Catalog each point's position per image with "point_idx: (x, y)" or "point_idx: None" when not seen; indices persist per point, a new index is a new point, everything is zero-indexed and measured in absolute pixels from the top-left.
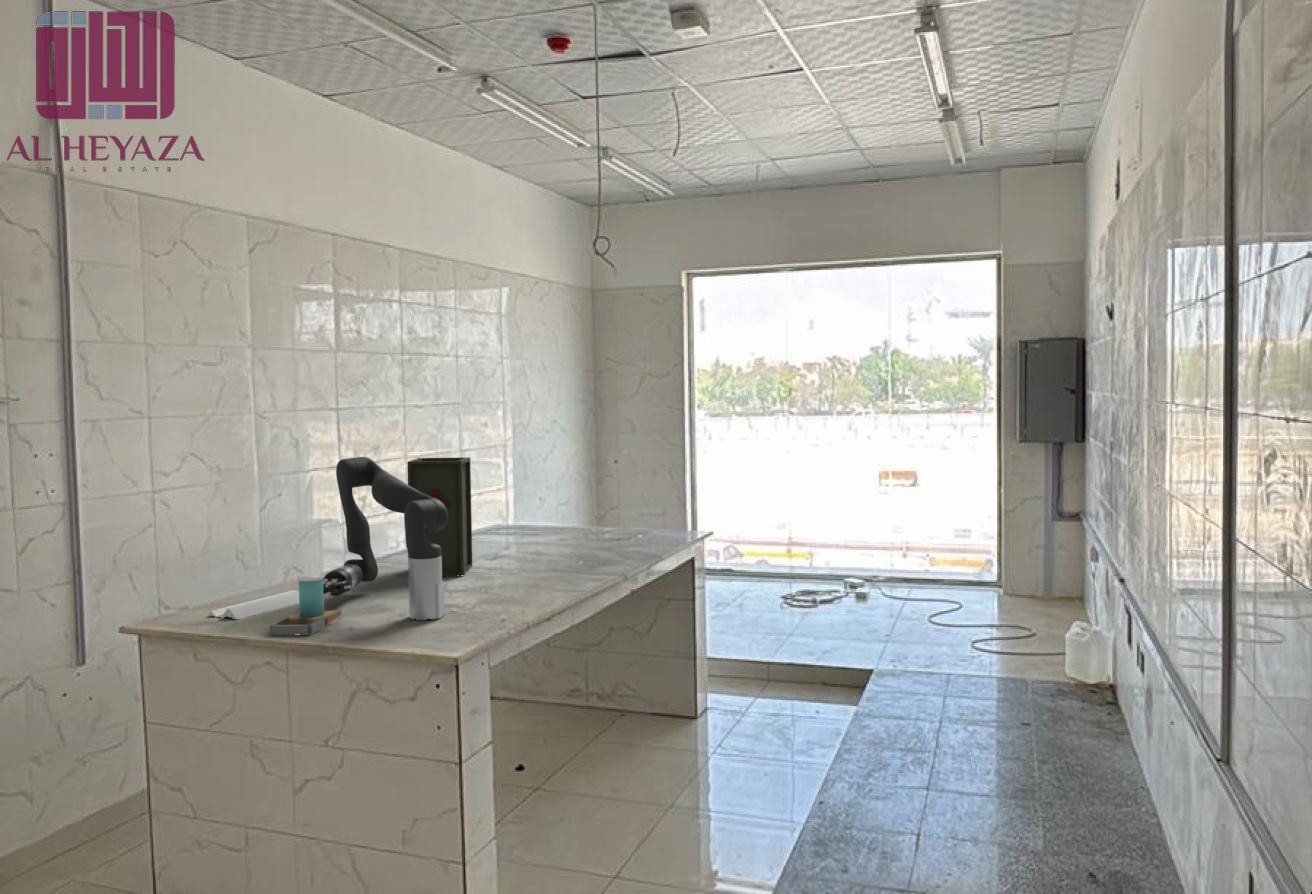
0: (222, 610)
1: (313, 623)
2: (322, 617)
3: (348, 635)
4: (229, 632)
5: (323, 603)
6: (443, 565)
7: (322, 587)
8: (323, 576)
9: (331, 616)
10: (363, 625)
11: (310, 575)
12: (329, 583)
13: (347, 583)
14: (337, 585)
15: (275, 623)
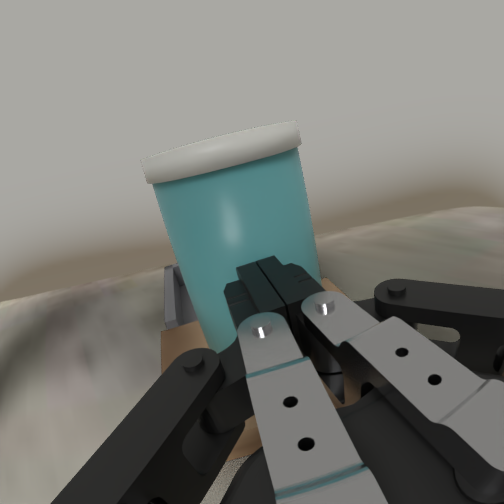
0: None
1: (167, 276)
2: (172, 314)
3: (85, 320)
4: (399, 231)
5: (200, 322)
6: None
7: (167, 231)
8: (143, 168)
9: (162, 357)
10: (59, 391)
11: (221, 136)
12: (269, 370)
13: (64, 497)
14: (152, 397)
15: None
